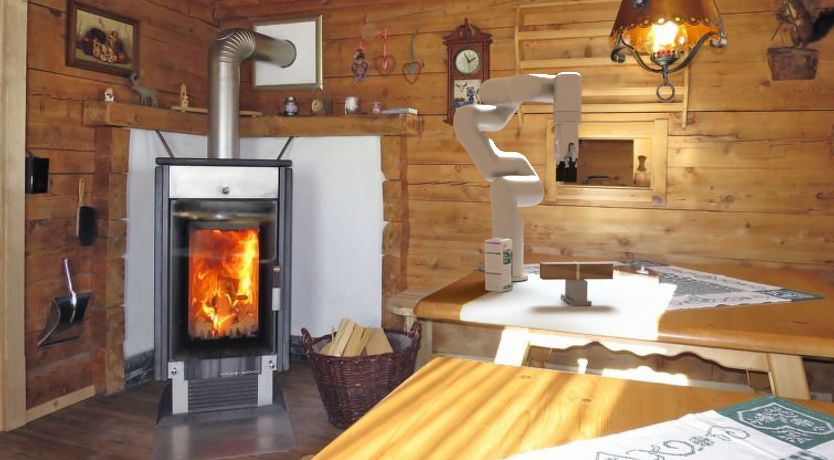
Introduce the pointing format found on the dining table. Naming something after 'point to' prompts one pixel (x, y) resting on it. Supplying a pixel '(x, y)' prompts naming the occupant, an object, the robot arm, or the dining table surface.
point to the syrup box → (498, 265)
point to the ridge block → (576, 292)
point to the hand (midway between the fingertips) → (565, 181)
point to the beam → (576, 270)
